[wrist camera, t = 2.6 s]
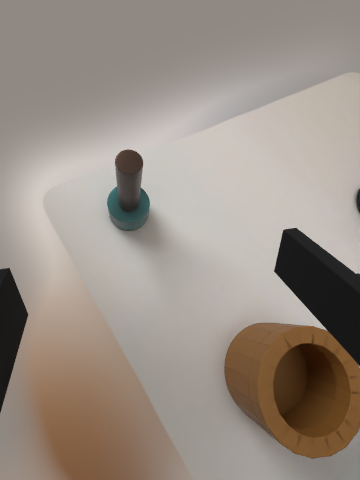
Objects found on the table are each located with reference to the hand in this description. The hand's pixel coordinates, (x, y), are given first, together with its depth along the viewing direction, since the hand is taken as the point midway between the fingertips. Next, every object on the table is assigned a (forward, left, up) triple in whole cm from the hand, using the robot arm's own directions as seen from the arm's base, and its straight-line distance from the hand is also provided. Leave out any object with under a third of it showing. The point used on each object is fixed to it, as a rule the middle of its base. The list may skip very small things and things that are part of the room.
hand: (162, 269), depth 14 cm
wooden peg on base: (-8, +8, -21) cm, 24 cm away
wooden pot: (+18, +2, -21) cm, 28 cm away
